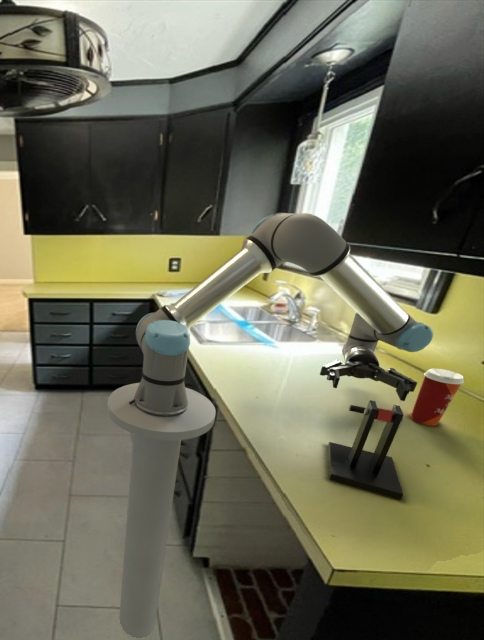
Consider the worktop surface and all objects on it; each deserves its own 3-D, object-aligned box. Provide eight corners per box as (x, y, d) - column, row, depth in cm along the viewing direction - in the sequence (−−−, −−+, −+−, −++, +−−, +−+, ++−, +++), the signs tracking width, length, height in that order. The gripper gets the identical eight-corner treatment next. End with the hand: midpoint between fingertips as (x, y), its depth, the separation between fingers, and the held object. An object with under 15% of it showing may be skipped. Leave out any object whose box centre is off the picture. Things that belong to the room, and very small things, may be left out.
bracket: (327, 446, 87) (347, 387, 81) (389, 462, 82) (416, 400, 75) (329, 479, 76) (352, 414, 70) (401, 500, 71) (434, 431, 64)
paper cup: (444, 430, 94) (468, 381, 88) (406, 421, 98) (427, 374, 92) (440, 418, 100) (463, 372, 94) (405, 410, 104) (424, 365, 98)
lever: (348, 412, 85) (350, 402, 84) (390, 421, 81) (393, 411, 81) (358, 416, 74) (362, 404, 74) (408, 426, 70) (412, 414, 70)
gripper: (410, 383, 101) (429, 415, 84) (308, 365, 112) (306, 391, 96) (421, 358, 98) (443, 386, 81) (314, 342, 109) (314, 364, 93)
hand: (369, 389), depth 88 cm, fingers open, 13 cm apart
